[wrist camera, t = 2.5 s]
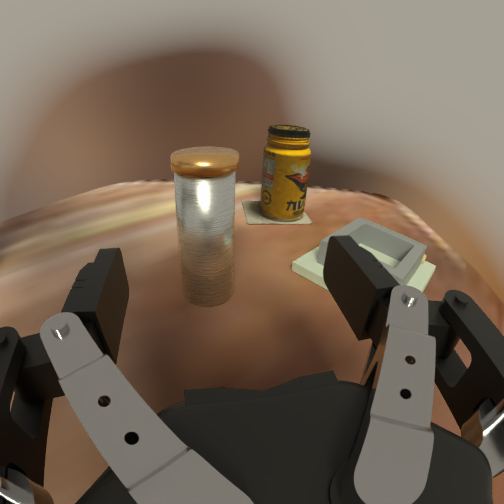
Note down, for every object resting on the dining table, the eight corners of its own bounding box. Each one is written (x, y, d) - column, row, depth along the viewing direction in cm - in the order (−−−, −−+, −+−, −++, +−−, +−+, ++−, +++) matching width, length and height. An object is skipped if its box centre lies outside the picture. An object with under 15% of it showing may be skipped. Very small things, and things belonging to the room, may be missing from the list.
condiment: (312, 224, 39) (324, 133, 33) (247, 225, 38) (252, 129, 32) (297, 203, 45) (305, 124, 39) (241, 203, 44) (245, 121, 38)
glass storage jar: (170, 288, 26) (158, 153, 20) (211, 268, 29) (210, 144, 23) (203, 316, 24) (196, 165, 17) (246, 291, 27) (253, 154, 20)
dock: (291, 270, 30) (295, 239, 28) (349, 233, 37) (354, 208, 36) (399, 329, 23) (413, 297, 21) (433, 273, 30) (443, 247, 29)
